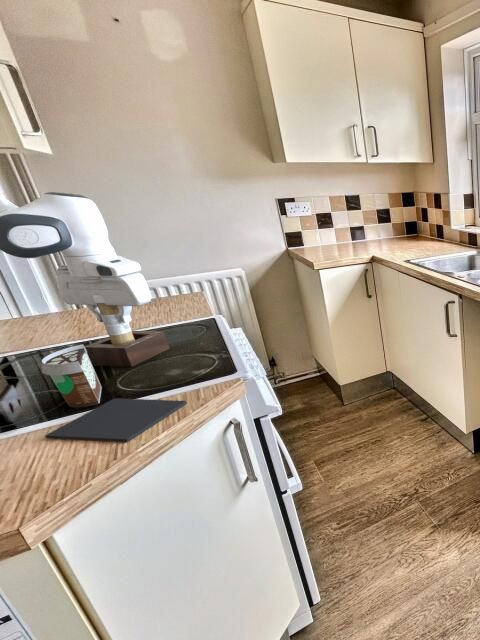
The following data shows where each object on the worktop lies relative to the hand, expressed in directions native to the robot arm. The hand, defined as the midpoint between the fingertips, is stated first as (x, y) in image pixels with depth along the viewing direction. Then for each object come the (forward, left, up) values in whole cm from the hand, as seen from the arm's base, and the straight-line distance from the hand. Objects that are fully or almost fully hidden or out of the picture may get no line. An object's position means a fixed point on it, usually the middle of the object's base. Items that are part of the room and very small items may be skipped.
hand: (115, 321), depth 103 cm
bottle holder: (0, 0, -10) cm, 10 cm away
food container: (+10, -21, -10) cm, 25 cm away
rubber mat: (+25, -27, -10) cm, 38 cm away
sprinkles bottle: (0, 0, -6) cm, 6 cm away
